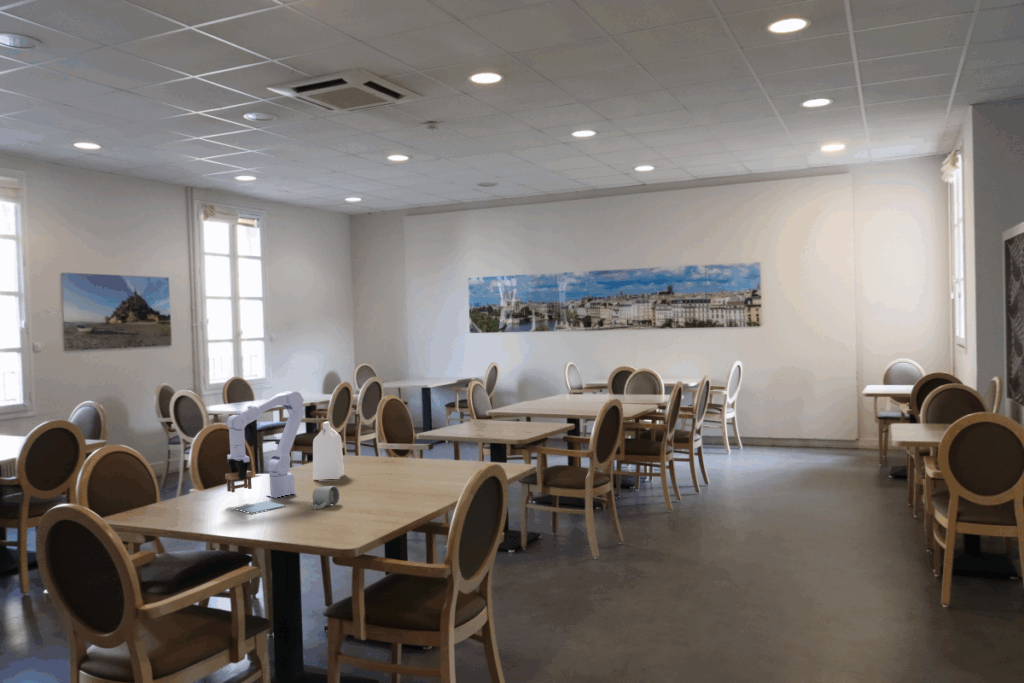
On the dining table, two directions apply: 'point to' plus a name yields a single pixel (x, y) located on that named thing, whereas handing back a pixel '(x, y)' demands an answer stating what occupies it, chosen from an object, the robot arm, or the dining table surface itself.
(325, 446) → the milk
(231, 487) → the stool
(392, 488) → the dining table surface
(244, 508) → the mat
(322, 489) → the ceramic mug
